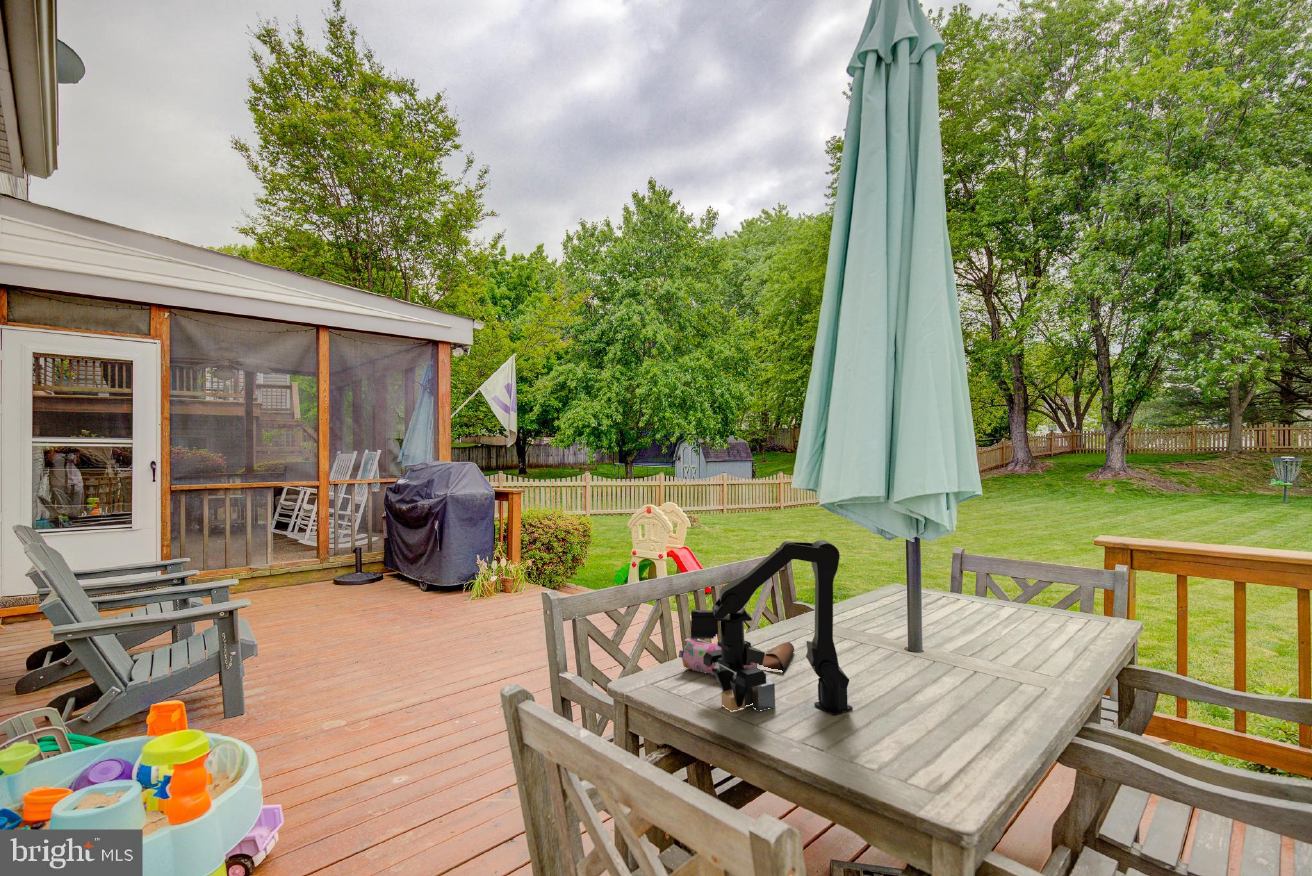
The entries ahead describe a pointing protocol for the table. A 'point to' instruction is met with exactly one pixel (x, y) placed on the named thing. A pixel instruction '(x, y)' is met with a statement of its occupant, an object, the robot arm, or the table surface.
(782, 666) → the sunglasses case
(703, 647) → the pencil case
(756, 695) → the grey arch block
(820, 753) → the table surface
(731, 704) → the plug
